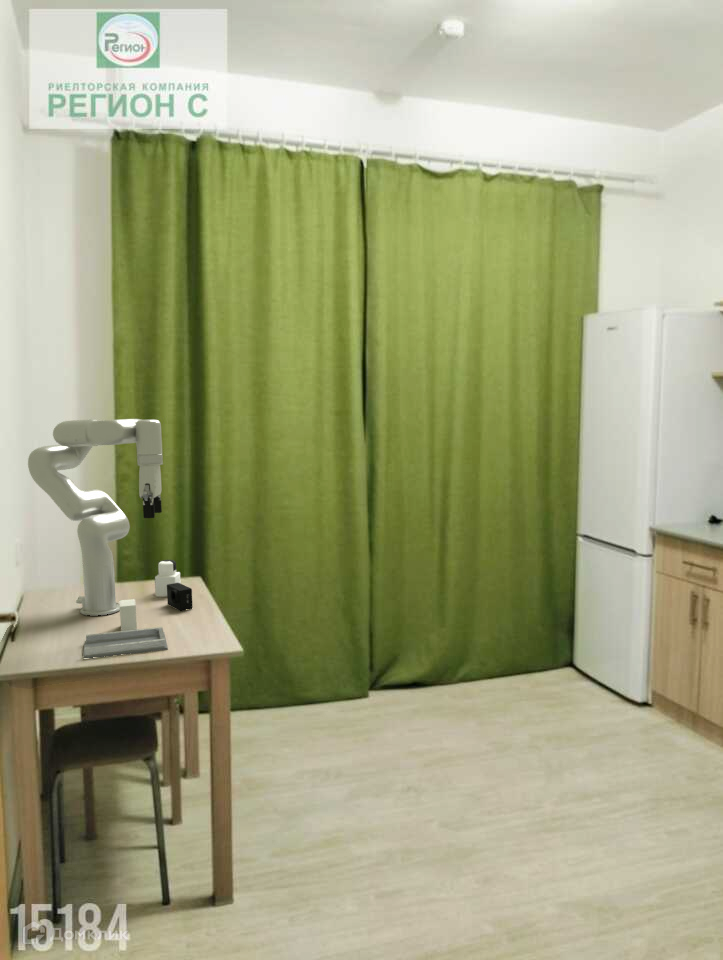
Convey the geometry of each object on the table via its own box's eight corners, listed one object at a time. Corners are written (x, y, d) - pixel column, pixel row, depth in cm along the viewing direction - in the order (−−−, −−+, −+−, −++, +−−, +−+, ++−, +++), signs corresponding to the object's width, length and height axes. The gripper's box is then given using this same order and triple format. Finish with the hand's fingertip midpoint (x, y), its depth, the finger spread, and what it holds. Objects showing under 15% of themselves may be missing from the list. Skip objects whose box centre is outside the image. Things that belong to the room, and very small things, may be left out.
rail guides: (85, 656, 203) (84, 648, 203) (86, 641, 215) (86, 634, 215) (165, 646, 210) (165, 639, 210) (162, 633, 221) (162, 626, 221)
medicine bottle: (161, 591, 270) (159, 558, 269) (181, 591, 270) (179, 558, 268) (155, 596, 263) (153, 563, 262) (175, 596, 263) (174, 563, 261)
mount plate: (83, 659, 202) (83, 657, 202) (84, 643, 216) (84, 640, 216) (167, 649, 209) (167, 647, 209) (164, 634, 222) (164, 632, 222)
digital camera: (163, 605, 253) (163, 584, 252) (179, 602, 256) (178, 582, 255) (177, 612, 245) (176, 591, 244) (192, 609, 248) (191, 588, 247)
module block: (121, 632, 224) (119, 606, 224) (120, 626, 231) (119, 600, 230) (136, 631, 226) (135, 605, 225) (136, 624, 232) (134, 599, 232)
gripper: (144, 457, 239) (147, 511, 241) (130, 463, 222) (133, 520, 224) (168, 457, 240) (170, 510, 242) (156, 462, 223) (159, 519, 225)
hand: (152, 515), depth 233 cm, fingers open, 9 cm apart
